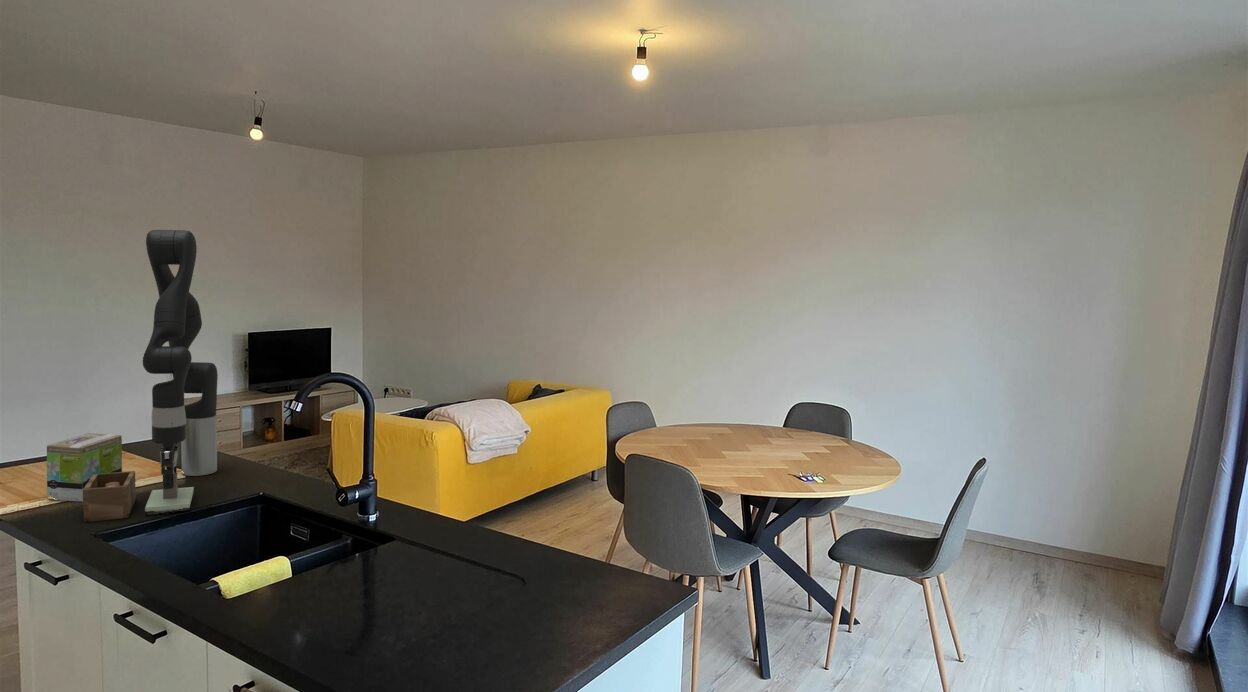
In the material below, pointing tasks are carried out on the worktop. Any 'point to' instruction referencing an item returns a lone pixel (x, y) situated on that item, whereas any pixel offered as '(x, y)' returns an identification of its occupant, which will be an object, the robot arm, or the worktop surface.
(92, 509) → the crate
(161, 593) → the worktop surface
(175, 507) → the lid
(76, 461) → the tea box
